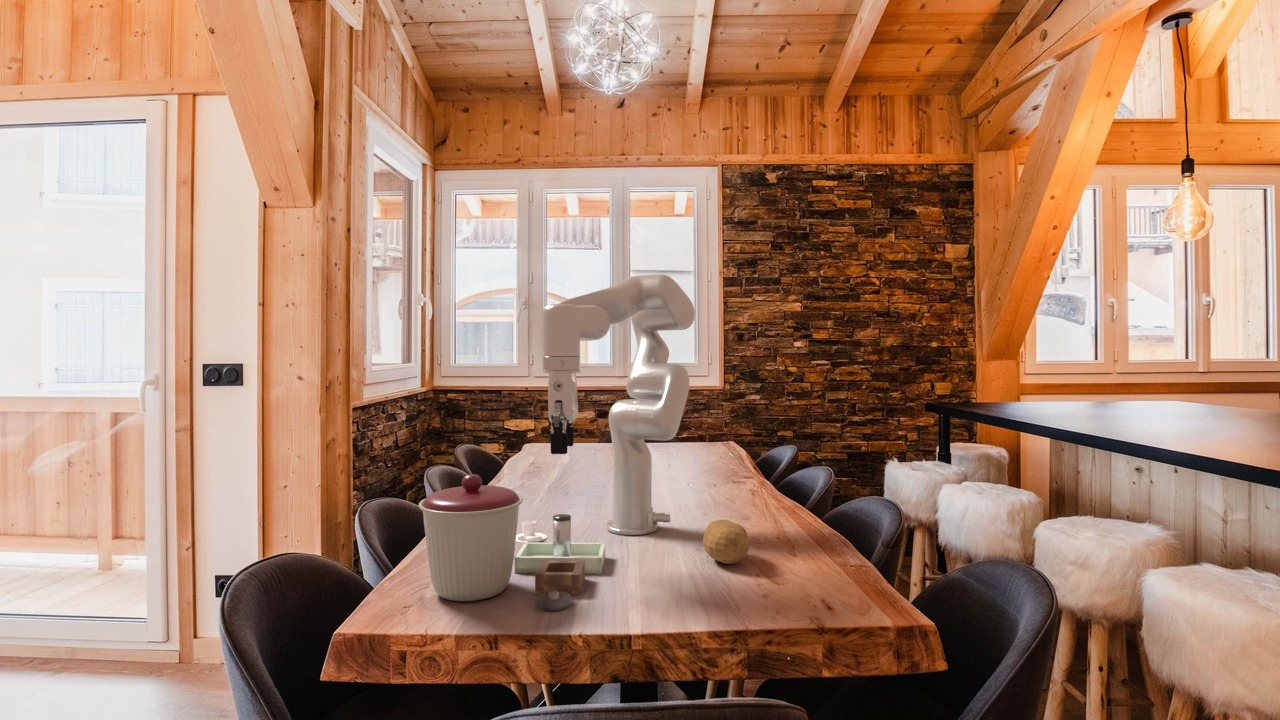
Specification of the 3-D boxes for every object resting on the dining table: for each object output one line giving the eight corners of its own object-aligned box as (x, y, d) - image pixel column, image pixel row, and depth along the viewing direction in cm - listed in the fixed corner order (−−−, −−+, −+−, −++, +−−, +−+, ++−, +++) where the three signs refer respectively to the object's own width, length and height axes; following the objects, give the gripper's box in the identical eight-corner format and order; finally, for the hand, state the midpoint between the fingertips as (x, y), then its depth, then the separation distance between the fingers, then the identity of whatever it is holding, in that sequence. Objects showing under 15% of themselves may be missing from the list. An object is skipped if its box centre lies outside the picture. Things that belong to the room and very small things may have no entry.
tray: (605, 557, 134) (605, 542, 134) (601, 573, 124) (601, 558, 124) (524, 556, 134) (524, 542, 134) (514, 572, 124) (514, 557, 124)
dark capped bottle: (571, 557, 131) (571, 514, 131) (569, 563, 127) (569, 518, 127) (554, 557, 131) (554, 514, 131) (551, 563, 127) (551, 518, 127)
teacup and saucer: (542, 546, 143) (542, 527, 143) (507, 545, 143) (507, 527, 143) (549, 535, 152) (549, 517, 152) (516, 534, 152) (516, 517, 152)
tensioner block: (584, 578, 121) (584, 560, 121) (575, 611, 105) (575, 590, 105) (542, 578, 121) (542, 560, 121) (526, 611, 105) (526, 590, 105)
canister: (444, 572, 124) (444, 464, 124) (534, 575, 122) (534, 466, 122) (399, 609, 106) (399, 483, 106) (504, 614, 104) (504, 486, 104)
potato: (739, 549, 139) (739, 513, 139) (758, 571, 125) (758, 531, 125) (695, 551, 138) (695, 514, 138) (710, 573, 124) (710, 532, 124)
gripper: (575, 366, 120) (576, 457, 120) (584, 364, 137) (585, 443, 138) (535, 367, 120) (536, 457, 120) (550, 364, 137) (550, 443, 138)
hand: (562, 449), depth 129 cm, fingers open, 9 cm apart
